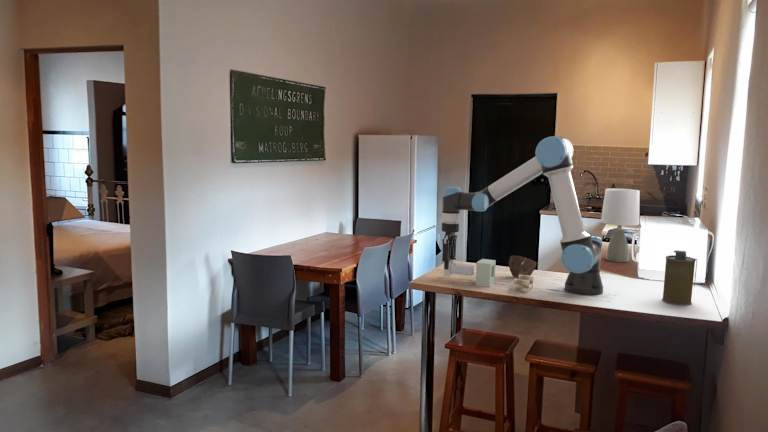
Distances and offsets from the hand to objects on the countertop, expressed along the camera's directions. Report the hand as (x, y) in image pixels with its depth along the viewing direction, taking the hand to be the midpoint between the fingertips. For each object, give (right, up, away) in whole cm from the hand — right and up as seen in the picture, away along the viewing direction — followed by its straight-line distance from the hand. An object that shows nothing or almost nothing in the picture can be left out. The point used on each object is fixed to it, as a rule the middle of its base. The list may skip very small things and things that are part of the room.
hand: (448, 275), depth 261 cm
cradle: (+30, -4, -13) cm, 33 cm away
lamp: (+94, +3, +51) cm, 107 cm away
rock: (+33, -2, +6) cm, 34 cm away
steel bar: (+4, +1, -2) cm, 5 cm away
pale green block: (+15, -3, -7) cm, 17 cm away
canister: (+86, -8, -28) cm, 91 cm away
